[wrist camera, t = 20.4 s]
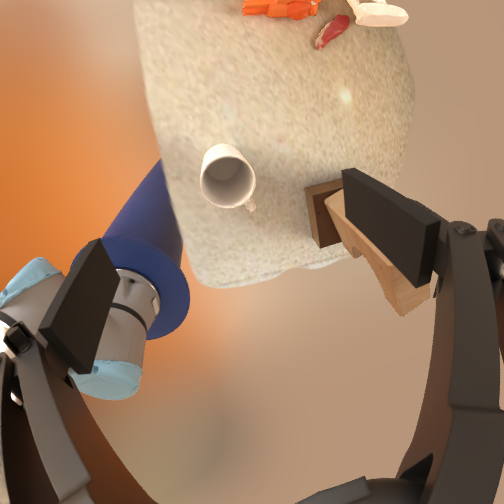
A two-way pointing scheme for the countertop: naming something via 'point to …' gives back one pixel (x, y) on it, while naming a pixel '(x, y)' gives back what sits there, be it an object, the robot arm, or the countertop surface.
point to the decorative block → (376, 260)
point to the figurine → (378, 14)
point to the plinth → (322, 213)
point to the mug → (227, 178)
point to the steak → (332, 30)
